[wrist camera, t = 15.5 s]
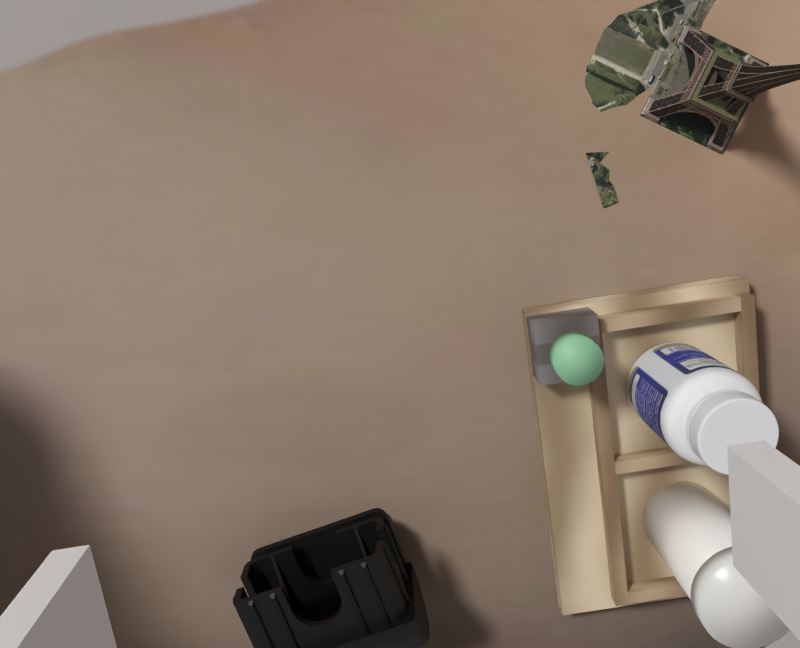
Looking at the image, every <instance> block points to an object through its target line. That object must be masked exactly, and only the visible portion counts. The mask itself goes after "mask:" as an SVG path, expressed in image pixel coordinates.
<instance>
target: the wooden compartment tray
mask: <svg viewBox="0 0 800 648" xmlns="http://www.w3.org/2000/svg"><path fill="white" fill-rule="evenodd" d="M522 312H523V320H524V328H525V336H526V344H527V352H528V360H529V369H530V377H531V385H532V393H533V401H534V409H535V417H536V425H537V433H538V441H539V449H540V458H541V466H542V474H543V482H544V490H545V498H546V506H547V514H548V522H549V530H550V539H551V547H552V555H553V563H554V571H555V579H556V587H557V595H558V603H559V607H560V609H561V612H562V614H563V615H569V614H576V613H582V612H589V611H595V610H602V609H609V608H615V607H622V606H628V605H635V604H641V603H648V602H654V601H661V600H667V599H674V598H681V597H687V596H688V595H687V594H686V592H685V591H684V589H683V588H682V587H681V585H680V584H679V582H678V581H677V579H676V578H675V576H674V575H673V573H672V572H671V571H670V569H669V568H668V566H667V565H666V563H665V562H664V560H663V559H662V557H661V556H660V554H659V553H658V552H657V550H656V549H655V547H654V546H653V544H652V543H651V541H650V540H649V538H648V537H647V535H646V533H645V531H644V528H643V521H642V518H643V512H644V508H645V506H646V504H647V502H648V500H649V499H650V498H651V496H652V495H653V494H654V493H655V492H657V491H658V490H659V489H661V488H662V487H664V486H666V485H668V484H671V483H674V482H680V481H689V482H695V483H698V484H700V485H702V486H704V487H706V488H707V489H708V490H709V491H711V493H712V494H713V495H714V496H715V497H716V498H717V499H718V500H719V501H720V502H721V503H722V504H723V505H724V506H725V507H726V508H727V509H728V510H729V511H730V493H729V475H726V474H722V473H719V472H717V471H715V470H713V469H711V468H710V467H709V466H706V465H699V464H695V463H692V462H689V461H687V460H685V459H683V458H682V457H680V456H679V455H678V454H676V453H675V452H674V451H673V450H672V449H671V448H670V447H669V446H668V445H667V444H666V443H665V442H664V441H663V440H662V439H661V438H660V437H659V436H658V435H657V434H656V433H655V432H654V431H653V430H652V429H651V428H650V427H649V426H648V425H647V424H646V423H645V422H644V421H643V420H642V419H641V418H640V417H639V416H638V415H637V414H636V413H635V411H634V410H633V408H632V407H631V405H630V402H629V400H628V396H627V380H628V376H629V373H630V370H631V368H632V367H633V365H634V363H635V362H636V361H637V360H638V358H639V357H640V356H641V355H642V354H644V353H645V352H646V351H648V350H649V349H651V348H653V347H655V346H657V345H660V344H664V343H670V342H679V343H685V344H689V345H691V346H694V347H696V348H698V349H700V350H701V351H703V352H705V353H706V354H708V355H710V356H711V357H713V358H715V359H716V360H718V361H720V362H722V363H723V364H725V365H727V366H728V367H730V368H732V369H733V370H735V371H737V372H738V373H740V374H741V375H743V376H744V377H745V378H747V379H748V380H749V381H750V382H751V383H752V384H753V385H754V387H755V388H756V390H757V391H758V393H759V395H760V391H759V372H758V353H757V333H756V314H755V295H753V294H750V288H749V278H747V277H745V276H742V275H734V276H728V277H722V278H715V279H709V280H703V281H696V282H690V283H684V284H677V285H671V286H665V287H659V288H652V289H646V290H640V291H633V292H627V293H621V294H614V295H608V296H602V297H596V298H589V299H583V300H577V301H570V302H564V303H558V304H551V305H545V306H539V307H533V308H526V309H522ZM567 332H580V333H583V334H585V335H587V336H588V337H589V338H591V339H592V340H593V341H594V342H595V343H596V344H597V345H598V346H599V347H600V349H601V350H602V352H603V356H604V366H603V369H602V371H601V373H600V375H599V376H598V377H597V378H596V379H595V380H594V381H592V382H591V383H589V384H586V385H581V386H575V385H571V384H568V383H566V382H564V381H563V380H562V379H561V378H560V377H559V376H558V374H557V373H556V372H555V370H554V369H553V368H552V366H551V364H550V361H549V351H550V348H551V345H552V344H553V342H554V341H555V340H556V339H557V338H558V337H559V336H561V335H562V334H564V333H567Z"/></svg>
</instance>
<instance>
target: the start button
mask: <svg viewBox="0 0 800 648" xmlns="http://www.w3.org/2000/svg"><path fill="white" fill-rule="evenodd" d="M549 361H550V364H551V366H552V368H553V369H554V370H555V372H556V373H557V374H558V376H559V377H560V378H561V379H562V380H563V381H564V382H566V383H568V384H571V385H575V386H581V385H586V384H589V383H591V382H592V381H594V380H595V379H596V378H597V377H598V376H599V375H600V373H601V371H602V369H603V366H604V356H603V352H602V350H601V349H600V347H599V346H598V345H597V344H596V343H595V342H594V341H593V340H592V339H591V338H589V337H588V336H587V335H585V334H583V333H580V332H567V333H564V334H562V335H561V336H559V337H558V338H557V339H556V340H555V341H554V342H553V344H552V345H551V348H550V351H549Z"/></svg>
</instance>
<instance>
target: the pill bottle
mask: <svg viewBox="0 0 800 648" xmlns="http://www.w3.org/2000/svg"><path fill="white" fill-rule="evenodd" d="M627 396H628V400H629V402H630V405H631V407H632V408H633V410H634V411H635V413H636V414H637V415H638V416H639V417H640V418H641V419H642V420H643V421H644V422H645V423H646V424H647V425H648V426H649V427H650V428H651V429H652V430H653V431H654V432H655V433H656V434H657V435H658V436H659V437H660V438H661V439H662V440H663V441H664V442H665V443H666V444H667V445H668V446H669V447H670V448H671V449H672V450H673V451H674V452H675V453H676V454H678V455H679V456H680V457H682V458H683V459H685V460H687V461H689V462H692V463H695V464H699V465H706V466H709V467H710V468H711V469H713V470H715V471H717V472H719V473H722V474H726V475H729V473H728V453H727V446H729V445H736V444H742V443H749V442H755V441H762V440H765V441H766V442H767V443H769V444H770V445H771V446H773V447H774V448H776V446H777V443H778V438H779V428H778V423H777V420H776V418H775V416H774V414H773V413H772V411H771V410H770V409H769V408H768V407H767V406H766V405H764V404H763V403H762V400H761V397H760V395H759V393H758V391H757V390H756V388H755V387H754V385H753V384H752V383H751V382H750V381H749V380H748V379H747V378H745V377H744V376H743V375H741V374H740V373H738V372H737V371H735V370H733V369H732V368H730V367H728V366H727V365H725V364H723V363H722V362H720V361H718V360H716V359H715V358H713V357H711V356H710V355H708V354H706V353H705V352H703V351H701V350H700V349H698V348H696V347H694V346H691V345H689V344H685V343H679V342H670V343H664V344H660V345H657V346H655V347H653V348H651V349H649V350H648V351H646V352H645V353H644V354H642V355H641V356H640V357H639V358H638V360H637V361H636V362H635V363H634V365H633V367H632V368H631V370H630V373H629V376H628V380H627Z"/></svg>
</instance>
